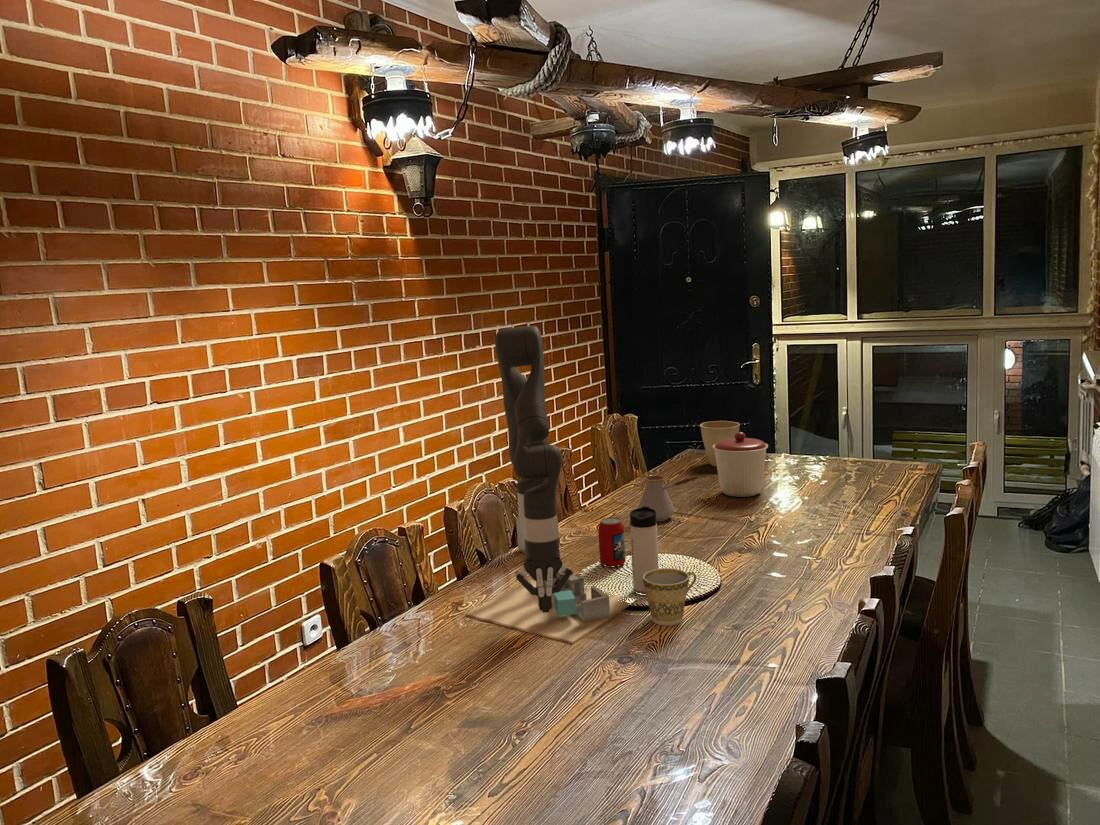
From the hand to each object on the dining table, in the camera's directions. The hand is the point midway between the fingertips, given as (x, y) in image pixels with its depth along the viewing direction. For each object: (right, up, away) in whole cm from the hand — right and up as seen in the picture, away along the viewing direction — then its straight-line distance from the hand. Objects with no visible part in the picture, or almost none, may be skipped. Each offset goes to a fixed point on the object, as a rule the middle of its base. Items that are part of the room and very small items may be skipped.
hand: (545, 611), depth 181 cm
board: (+1, -1, +8) cm, 8 cm away
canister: (+65, +16, +95) cm, 116 cm away
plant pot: (+68, +23, +138) cm, 155 cm away
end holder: (+9, -2, +2) cm, 10 cm away
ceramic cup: (+28, -1, -1) cm, 28 cm away
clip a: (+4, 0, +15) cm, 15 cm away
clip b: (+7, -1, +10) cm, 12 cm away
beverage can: (+18, +4, +35) cm, 39 cm away
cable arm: (+3, +1, +11) cm, 11 cm away
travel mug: (+24, +1, +15) cm, 28 cm away
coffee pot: (+38, +11, +70) cm, 80 cm away
